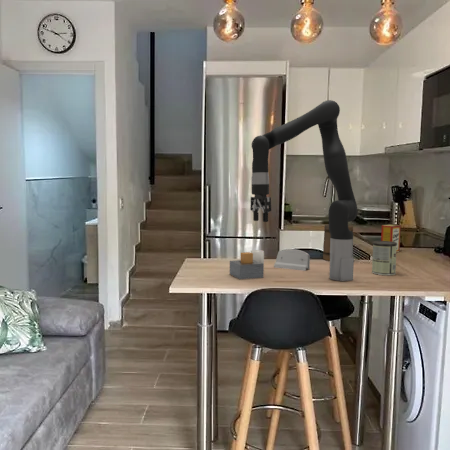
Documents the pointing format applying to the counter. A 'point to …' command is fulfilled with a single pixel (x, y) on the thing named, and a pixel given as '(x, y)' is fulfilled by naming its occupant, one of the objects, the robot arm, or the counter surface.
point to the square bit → (246, 257)
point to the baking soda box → (391, 234)
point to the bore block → (246, 269)
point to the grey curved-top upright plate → (293, 260)
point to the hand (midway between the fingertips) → (260, 221)
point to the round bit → (258, 255)
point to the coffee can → (384, 258)
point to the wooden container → (327, 241)
